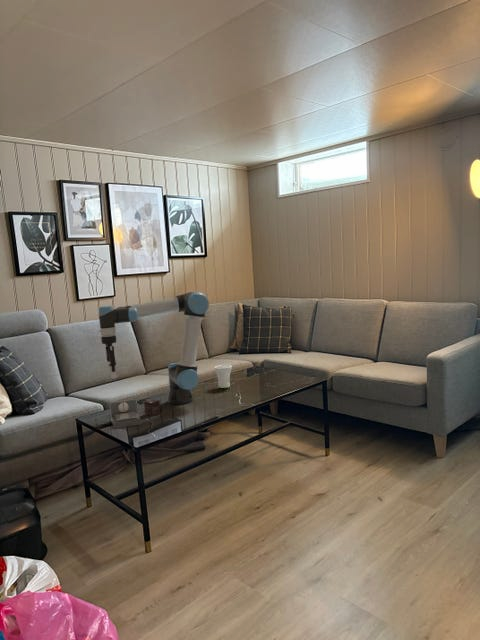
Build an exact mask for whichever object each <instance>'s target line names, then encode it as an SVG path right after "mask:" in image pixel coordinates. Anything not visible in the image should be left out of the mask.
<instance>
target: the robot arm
mask: <svg viewBox="0 0 480 640" xmlns="http://www.w3.org/2000/svg"><path fill="white" fill-rule="evenodd" d="M209 301H210V300H209V298H208V297H207V296H206V294H204V293H201V292H199V291H198V292H197V291H195V292H194V291H189V292H186V293H182V294H178V295H174V296H172V298H166V299H161V300H155V301H154V300H153V301H148V302H143V303H142V302H141V303H138V304H132V305H126V306H118V307H115V308H114V306H113V305H104V306H99V307H98V321H99V328H100V330H99V331H98V332H99V333H100V336H101V337H100V339H101V344H102V345H105V347H104V348H105V353H106V363H107V372H108V374H110V378H111V379H117V377H118V375H117V366H116V365H117V362H116V355H115V346H114V345H113V344H115V343H117V336H116V334H117V331H116V324H121V323H133V322H137V321H138V319H140V318H144V317H151V316H154V315H155V316H156V315H162V314H166V313H171V312H173V313H174V312H175V313H182V312H184V313H183V316H184V317H185V323H184V332H183V339H182V340H183V341H182V347H181V351H180V352H181V355H180V360H179V361H178V362H172V363H168V366H167V367H168V368H167V372H168V382H169V383H168V385H169V390H168V395H167V404H170V405H185V404H189V403H192V402H193V401H194V395H193V393H192V389H194V388H195V387H196V386H197V385H198V382H199V374H198V368H199V366H198V364H197V362H196V361H197V356H198V355H197V354H198V348H199V346H198V345H199V341H200V333H201V325H202V321H203V319H205V315H206V312H207V311H208V309H209V307H210V302H209Z"/></svg>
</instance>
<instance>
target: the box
mask: <svg viewBox="0 0 480 640" xmlns="http://www.w3.org/2000/svg"><path fill="white" fill-rule="evenodd" d="M143 403H144V404H143V405H144V415H145V416H149V417H153V416H156V415H159V414H161V405H160V400H159V399H154V398H151V399H149V400H148V399H147V400H145V401H143Z"/></svg>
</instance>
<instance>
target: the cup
mask: <svg viewBox="0 0 480 640" xmlns="http://www.w3.org/2000/svg"><path fill="white" fill-rule="evenodd" d="M232 368H233V366H232V365H231V364H219V365H216V366H214V372H215V374H216V376H217V382H218V384H217V386H218V389H219V388H224V389H226V388H228V389H229V387H230V388H231V384H230V378H231V377H230V376H231V372H232Z"/></svg>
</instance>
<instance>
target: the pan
mask: <svg viewBox="0 0 480 640" xmlns="http://www.w3.org/2000/svg"><path fill="white" fill-rule="evenodd" d="M115 418H116V420H117V421H119V420H125V419H131V418H137V415H136V414H135V412H128V413H121V414H115Z"/></svg>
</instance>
